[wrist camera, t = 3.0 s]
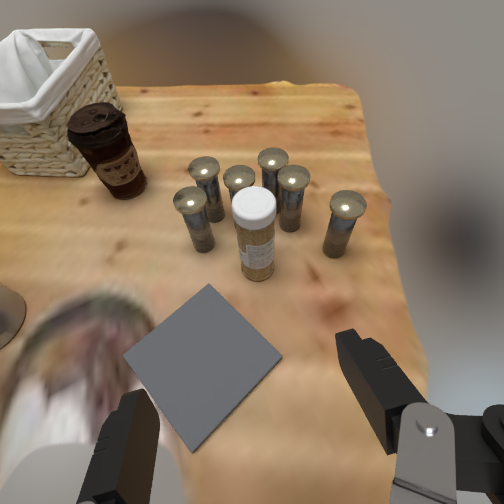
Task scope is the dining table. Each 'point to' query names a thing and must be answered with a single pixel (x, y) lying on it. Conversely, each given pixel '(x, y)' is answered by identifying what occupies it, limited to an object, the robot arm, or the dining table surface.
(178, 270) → the dining table surface
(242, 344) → the rubber mat
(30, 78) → the storage basket
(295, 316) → the dining table surface
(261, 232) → the sprinkles bottle
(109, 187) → the coffee cup
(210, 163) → the posts
